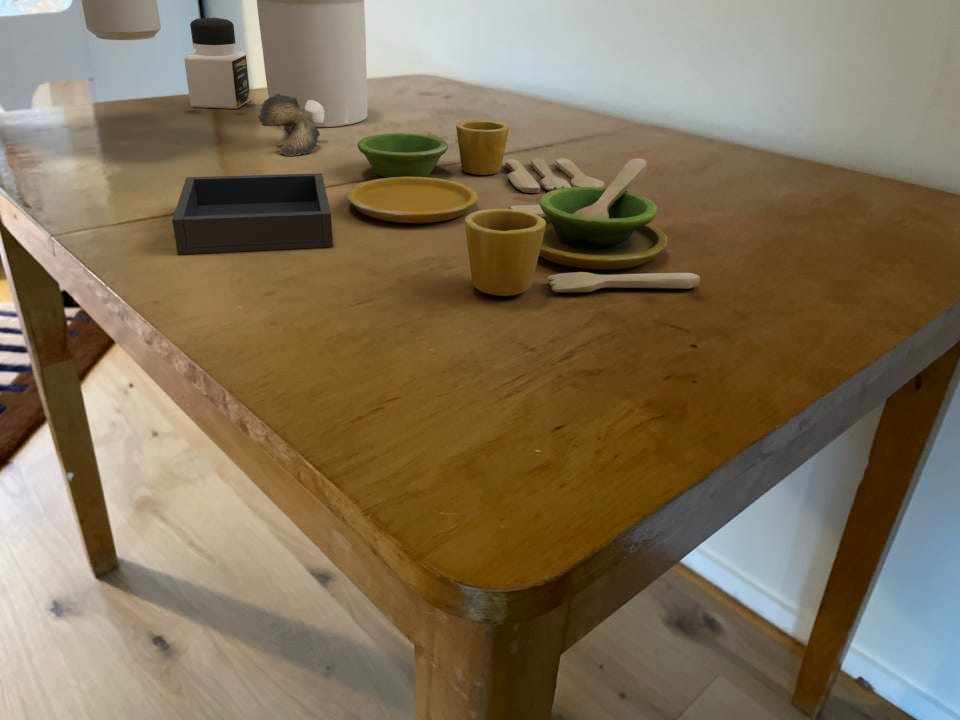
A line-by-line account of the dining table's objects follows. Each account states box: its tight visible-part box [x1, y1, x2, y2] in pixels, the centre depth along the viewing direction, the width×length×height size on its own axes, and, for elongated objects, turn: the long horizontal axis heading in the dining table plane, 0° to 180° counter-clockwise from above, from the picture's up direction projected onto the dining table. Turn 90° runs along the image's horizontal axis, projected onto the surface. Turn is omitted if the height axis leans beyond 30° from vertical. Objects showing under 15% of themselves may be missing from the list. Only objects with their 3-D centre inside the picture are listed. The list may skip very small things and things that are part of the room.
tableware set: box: [345, 120, 701, 297], centre depth 74 cm, size 41×28×6 cm
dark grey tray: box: [171, 172, 334, 256], centre depth 70 cm, size 13×13×3 cm
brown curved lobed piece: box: [257, 94, 325, 157], centre depth 96 cm, size 8×7×9 cm
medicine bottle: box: [183, 17, 251, 110], centre depth 116 cm, size 7×7×12 cm
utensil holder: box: [256, 0, 368, 128], centre depth 108 cm, size 15×15×18 cm
